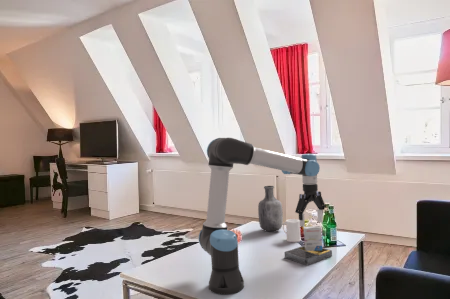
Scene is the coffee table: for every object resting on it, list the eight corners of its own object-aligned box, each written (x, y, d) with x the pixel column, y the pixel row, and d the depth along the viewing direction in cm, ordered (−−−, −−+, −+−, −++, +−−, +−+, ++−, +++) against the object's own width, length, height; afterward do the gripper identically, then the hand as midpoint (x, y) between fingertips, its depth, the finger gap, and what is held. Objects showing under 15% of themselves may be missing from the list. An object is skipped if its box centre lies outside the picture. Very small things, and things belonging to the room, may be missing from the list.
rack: (306, 265, 166) (306, 258, 166) (284, 257, 179) (284, 251, 179) (332, 256, 177) (331, 249, 177) (309, 249, 189) (309, 243, 189)
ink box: (320, 247, 182) (319, 225, 182) (322, 250, 177) (321, 228, 177) (304, 248, 183) (303, 226, 183) (305, 251, 178) (304, 228, 178)
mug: (279, 239, 211) (278, 219, 210) (289, 236, 216) (287, 217, 216) (294, 243, 201) (293, 223, 201) (304, 239, 207) (303, 220, 206)
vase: (268, 235, 219) (266, 189, 218) (254, 230, 233) (252, 186, 232) (288, 231, 227) (286, 186, 226) (273, 226, 241) (271, 183, 240)
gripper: (298, 186, 169) (299, 229, 169) (331, 181, 183) (332, 221, 183) (287, 185, 175) (288, 226, 176) (320, 180, 189) (321, 218, 190)
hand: (311, 224), depth 179 cm, fingers open, 13 cm apart
